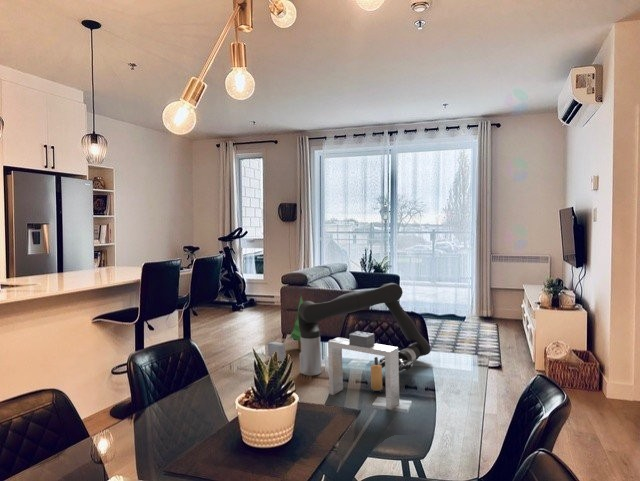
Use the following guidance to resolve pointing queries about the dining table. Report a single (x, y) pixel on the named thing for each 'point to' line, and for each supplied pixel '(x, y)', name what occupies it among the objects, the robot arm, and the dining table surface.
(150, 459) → the dining table surface
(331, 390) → the white arch
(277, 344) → the medicine box
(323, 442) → the dining table surface
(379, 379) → the orange plug
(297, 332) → the decorative tree
